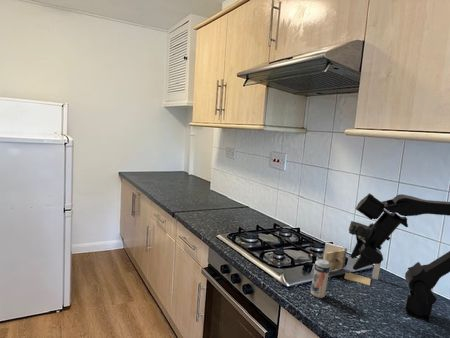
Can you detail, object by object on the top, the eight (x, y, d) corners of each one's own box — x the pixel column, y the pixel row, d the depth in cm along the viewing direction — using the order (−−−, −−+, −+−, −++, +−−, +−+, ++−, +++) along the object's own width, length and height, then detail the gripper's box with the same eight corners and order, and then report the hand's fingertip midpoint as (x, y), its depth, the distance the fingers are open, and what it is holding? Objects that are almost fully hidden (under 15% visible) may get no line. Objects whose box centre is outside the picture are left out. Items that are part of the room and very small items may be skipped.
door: (340, 268, 127) (343, 249, 126) (344, 270, 125) (347, 251, 124) (322, 271, 122) (325, 252, 121) (326, 274, 121) (329, 254, 119)
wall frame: (377, 278, 123) (381, 256, 121) (377, 280, 121) (381, 258, 120) (322, 262, 132) (326, 242, 130) (322, 264, 130) (325, 243, 129)
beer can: (307, 291, 107) (312, 259, 105) (318, 290, 109) (323, 257, 107) (316, 299, 103) (322, 265, 101) (328, 297, 105) (333, 264, 103)
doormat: (370, 279, 121) (370, 278, 121) (369, 286, 116) (370, 285, 116) (345, 272, 125) (346, 271, 125) (344, 278, 120) (344, 277, 120)
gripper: (358, 206, 112) (331, 238, 116) (364, 221, 94) (332, 259, 99) (386, 225, 110) (357, 257, 114) (398, 244, 92) (363, 282, 97)
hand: (352, 263), depth 106 cm, fingers open, 9 cm apart
